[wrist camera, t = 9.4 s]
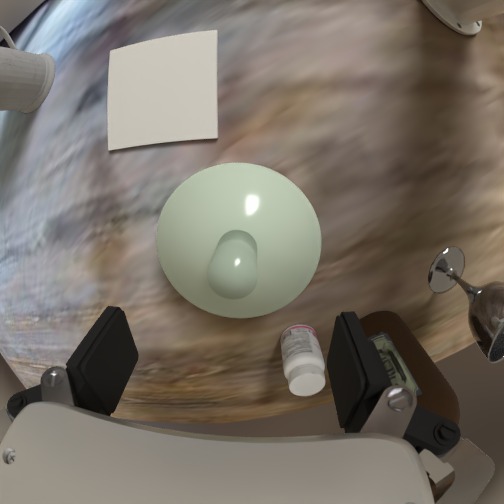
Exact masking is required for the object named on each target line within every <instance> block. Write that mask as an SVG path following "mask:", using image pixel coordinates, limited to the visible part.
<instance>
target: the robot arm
mask: <svg viewBox="0 0 504 504" xmlns="http://www.w3.org/2000/svg"><path fill="white" fill-rule="evenodd" d="M422 2H423V3H424V4H425V5H426V7H427V8H428V9H429V10H430V11H431V12H432V13H433V14H434V15H435V16H436V17H437V18H438V19H439V20H441V21H442V22H443V23H444V24H445V25H447V26H448V27H450V28H451V29H453V30H455V31H456V32H458V33H461V34H463V35H474V34H477V33H478V32H479V31H480V30H481V26H482V21H481V20H484V19H487V18H490V17H493V16H496V15H500V14H503V13H504V0H422ZM137 361H138V351H137V348H136V346H135V343H134V340H133V337H132V334H131V331H130V328H129V325H128V322H127V319H126V316H125V313H124V311H122V310H121V308H120V307H113V306H108V307H107V308H106V309H105V310H104V312H103V313H102V314H101V316H100V317H99V318H98V320H97V321H96V322H95V324H94V325H93V326H92V328H91V329H90V330H89V332H88V333H87V335H86V336H85V337H84V339H83V340H82V342H81V343H80V344H79V346H78V347H77V349H76V350H75V351H74V353H73V354H72V356H71V357H70V359H69V360H68V362H67V363H66V366H67V368H66V369H64V368H62V367H58V366H56V367H51V368H49V369H48V370H46V371H45V372H44V373H43V375H42V377H41V384H40V385H37V386H35V387H32V388H29V389H27V390H24V391H21V392H19V393H16V394H14V395H13V396H12V397H11V398H10V399H9V401H8V404H7V409H6V408H5V407H4V408H2V409H1V410H0V504H473V503H474V502H475V500H476V499H477V498H478V496H479V495H480V494H481V492H482V491H483V489H484V488H485V486H486V485H487V483H488V481H489V480H490V479H491V477H492V475H493V473H494V463H493V461H492V460H491V459H490V458H489V457H488V456H487V455H486V454H485V453H483V452H482V451H481V450H480V449H479V448H477V447H476V446H475V445H474V444H473V443H471V442H470V441H469V440H468V439H466V438H465V439H464V440H463V439H462V438H461V437H460V436H461V435H460V429H459V427H458V426H457V424H456V423H455V422H453V421H451V420H449V419H447V418H444V417H442V416H440V415H438V414H435V413H433V412H431V411H429V410H427V409H424V408H422V407H420V406H418V405H417V398H416V395H415V394H414V392H413V391H412V390H411V389H409V388H408V387H406V386H402V385H394V386H393V385H392V383H391V380H390V378H389V375H388V373H387V371H386V368H385V366H384V364H383V361H382V359H381V357H380V354H379V352H378V350H377V348H376V345H375V343H374V342H373V341H372V340H368V339H367V337H366V335H365V333H364V330H363V328H362V326H361V324H360V322H359V319H358V317H357V315H356V313H355V312H342V313H341V314H340V316H337V317H336V321H335V326H334V331H333V336H332V340H331V345H330V349H329V354H328V358H327V369H328V373H329V378H330V382H331V387H332V391H333V396H334V400H335V405H336V409H337V415H338V420H339V424H340V427H341V428H344V429H345V433H343V434H329V435H317V436H304V437H303V436H301V437H235V436H219V435H208V434H198V433H189V432H182V431H176V430H170V429H164V428H158V427H153V426H148V425H143V424H138V423H134V422H130V421H125V420H121V419H118V418H114V417H110V415H111V413H114V411H115V409H116V407H117V405H118V402H119V400H120V398H121V396H122V393H123V391H124V389H125V387H126V384H127V382H128V380H129V378H130V376H131V374H132V371H133V369H134V367H135V365H136V363H137ZM426 471H427V472H428V473H429V474H430V475H429V477H430V478H431V479H432V480H433V481H434V482H435V484H436V491H435V494H434V495H433V494H432V490H431V486H430V483H429V479H428V476H427V473H426Z"/></svg>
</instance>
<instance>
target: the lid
mask: <svg viewBox="0 0 504 504" xmlns="http://www.w3.org/2000/svg"><path fill="white" fill-rule="evenodd" d="M156 243H157V252H158V256H159V260H160V263H161V266H162V269H163V271H164V273H165V275H166V277H167V278H168V280H169V281H170V283H171V284H172V286H173V287H174V288H175V289H176V290H177V291H178V292H179V293H180V294H181V295H182V296H183V297H184V298H185V299H186V300H188V301H189V302H191V303H192V304H193V305H195V306H197V307H199V308H200V309H202V310H205V311H207V312H209V313H212V314H215V315H219V316H224V317H229V318H252V317H258V316H262V315H265V314H269V313H271V312H274V311H276V310H278V309H280V308H282V307H284V306H286V305H287V304H288V303H290V302H291V301H293V300H294V299H295V298H296V297H297V296H298V295H299V294H300V293H301V292H302V291H303V290H304V289H305V288H306V286H307V285H308V284H309V282H310V280H311V279H312V277H313V275H314V273H315V271H316V269H317V265H318V262H319V259H320V253H321V232H320V226H319V222H318V219H317V216H316V214H315V211H314V209H313V207H312V205H311V204H310V202H309V201H308V199H307V197H306V196H305V195H304V194H303V193H302V191H301V190H300V189H299V188H298V187H297V186H296V185H295V184H294V183H292V182H291V181H290V180H289V179H287V178H286V177H284V176H283V175H281V174H280V173H278V172H276V171H274V170H272V169H270V168H267V167H264V166H261V165H257V164H251V163H241V162H233V163H223V164H219V165H215V166H212V167H209V168H206V169H204V170H202V171H200V172H198V173H196V174H194V175H193V176H191V177H189V178H188V179H187V180H185V181H184V182H183V183H182V184H181V185H180V186H179V187H178V188H177V189H176V190H175V191H174V192H173V193H172V195H171V196H170V197H169V199H168V200H167V202H166V204H165V206H164V208H163V210H162V212H161V215H160V218H159V222H158V227H157V236H156Z"/></svg>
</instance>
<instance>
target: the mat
mask: <svg viewBox="0 0 504 504" xmlns="http://www.w3.org/2000/svg"><path fill="white" fill-rule="evenodd" d="M217 51H218V31H217V30H211V31H202V32H194V33H187V34H180V35H174V36H169V37H163V38H158V39H154V40H149V41H145V42H141V43H137V44H133V45H129V46H125V47H122V48H119V49H115V50H112V51H110V61H109V75H108V148H109V150H115V149H121V148H127V147H134V146H141V145H148V144H156V143H164V142H174V141H184V140H196V139H211V138H218V97H217Z"/></svg>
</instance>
